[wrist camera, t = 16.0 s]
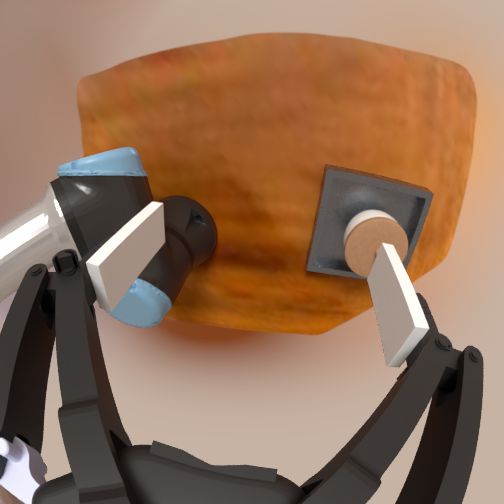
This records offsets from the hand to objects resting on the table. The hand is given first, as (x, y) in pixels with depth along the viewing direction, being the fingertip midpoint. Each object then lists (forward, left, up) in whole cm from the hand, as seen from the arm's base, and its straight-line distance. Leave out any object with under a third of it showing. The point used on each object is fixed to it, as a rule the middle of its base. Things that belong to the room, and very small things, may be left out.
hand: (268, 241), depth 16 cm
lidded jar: (+16, -12, -30) cm, 36 cm away
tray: (+16, -12, -31) cm, 37 cm away
